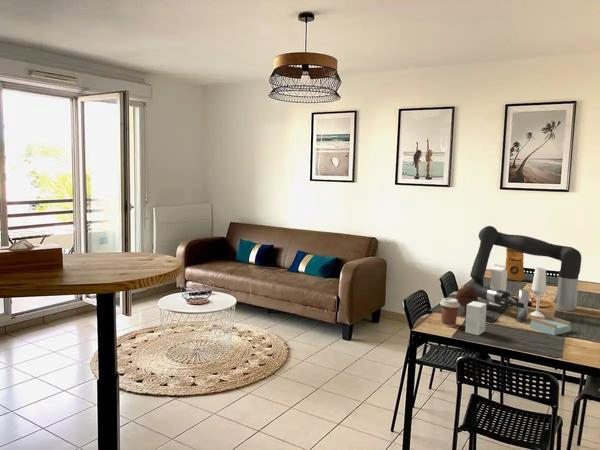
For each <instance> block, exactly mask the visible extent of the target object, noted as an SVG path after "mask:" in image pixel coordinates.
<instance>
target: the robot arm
mask: <svg viewBox="0 0 600 450" xmlns="http://www.w3.org/2000/svg"><path fill="white" fill-rule="evenodd" d="M478 239H479V241H480V243H479V247H478V251H477V253H476V257H475V259H474V261H473V265H472V267H471V271H470V275H469V276H470V278H471V279H472V280H473V281H472V282H471V281H469V282H466V283H465V284H464V285H463V288H465V287H466V286H472V287H473V288H474V290H475V293H476V295H477V297H478V299H482V300H484V301H488V302H489V301H490V302H492V303H495V304H498V305H501V306H500V307H509V308H510V307H511V308H512V307H514V308H515V307H516V308H518V307H520V308H524V304H523V303H519V302H518V296H517V297H516V296H513V295H511V294H510V293H509V292H508V291H507V290H506V291H502V290H498V289H493V288H490V287H488V286H484V285H485V283H484V281H485V280H484V278H485V275H486V272H487V271H486V270H487V266H488V263H489V259H490V256H491V252H492V249H493V247H494V246H497V247H503V248H505V249H506V248H509V249H512V250H515V251H518V252H522V253H523V254H525V255H530V256H534V257H535V256H536V257H545V258H546V257H547V258H551V259H554V260H557V261H559V262H560V269H559V270H558V280H557V290H556V292H557V293H556V303H555V308H556V309H558V310H561V311H565V312H574V311H576V310H577V303H578V284H579V275H580V272H581V266H582V254H581V252H580V251H579V250H578V249H576V248H574V247H572V246H567V245H559V244H553V243H550V242H547V241H545V240H542V239H539V238H535V237H532V236H531V237H530V236H528V235H521V234H507V233H504V232H500V231H498V230H497V228H496V227H494V226H491V225H487V226H485V227H483V228H482V229H481V230H480V231H479V233H478ZM528 307H530V308H532V307H533V302H531V301H529V300H528Z"/></svg>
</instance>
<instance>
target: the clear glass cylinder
mask: <svg viewBox="0 0 600 450" xmlns="http://www.w3.org/2000/svg"><path fill="white" fill-rule="evenodd" d="M517 297H518V302H519V303H523V304H524V308H520V307H517V308H516V310H517V311H516V312H517V313H516V321H518V322H521V323H524V322H527V321H528V307H529V306H528V301H529V297H530V290H529V289H528V290H527V289H522V288H521V289H519V290H518V296H517Z"/></svg>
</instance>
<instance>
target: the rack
mask: <svg viewBox="0 0 600 450" xmlns="http://www.w3.org/2000/svg"><path fill="white" fill-rule="evenodd" d="M529 328H531V329H533V330H537V331H540V332H543V333H546V334H549V335H551V336H558V335H562V334H565V333H569V332H571V329H572V325H571V321H567V320H564V319H561V318H557V317H554V316H552V315H547V314H544V318H541V319H540V318H539V319H538V318H535V317H531V321H530V326H529Z"/></svg>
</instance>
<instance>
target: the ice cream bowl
mask: <svg viewBox="0 0 600 450" xmlns="http://www.w3.org/2000/svg"><path fill="white" fill-rule="evenodd" d="M455 299H457V300H458V303H459V304H460V306H462V307H463V309H464V310H463V311H461V312H459V315H461V316H462V317H463V316H464V317H466V310H467V304H469V303H471V302H473V301H475V302H478V299H479V297H477V295H476V293H475V290H474V288H473V287H472V286H466V287H465V288H464V287H462V288H459V289H458V290H457V294H455Z"/></svg>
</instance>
